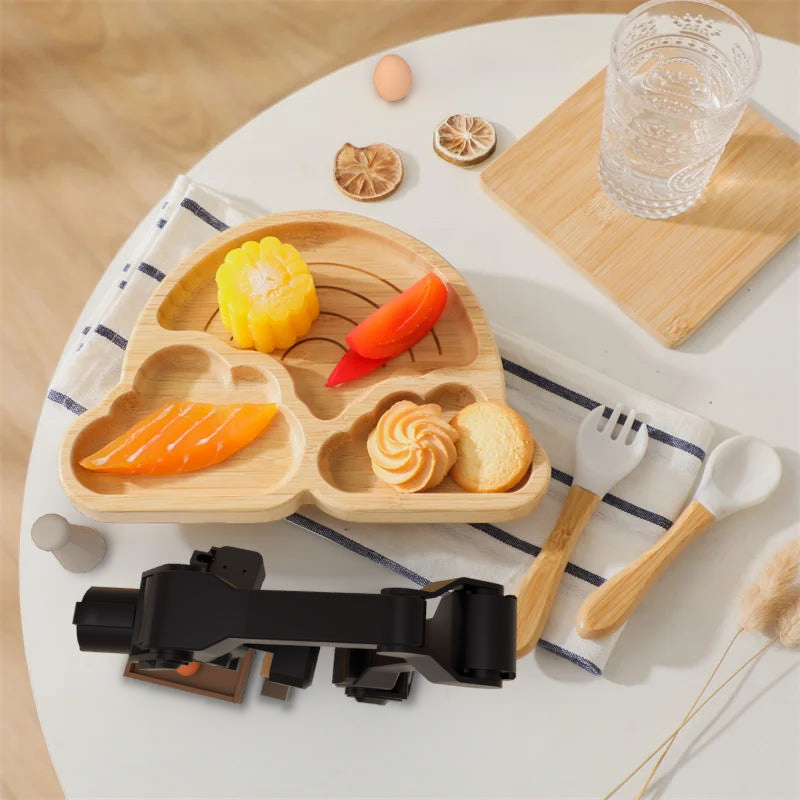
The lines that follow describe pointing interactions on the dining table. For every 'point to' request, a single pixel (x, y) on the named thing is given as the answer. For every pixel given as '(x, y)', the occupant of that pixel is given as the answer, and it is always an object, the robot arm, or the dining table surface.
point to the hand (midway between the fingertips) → (243, 647)
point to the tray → (201, 679)
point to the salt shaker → (68, 542)
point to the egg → (392, 77)
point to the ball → (188, 669)
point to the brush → (269, 687)
